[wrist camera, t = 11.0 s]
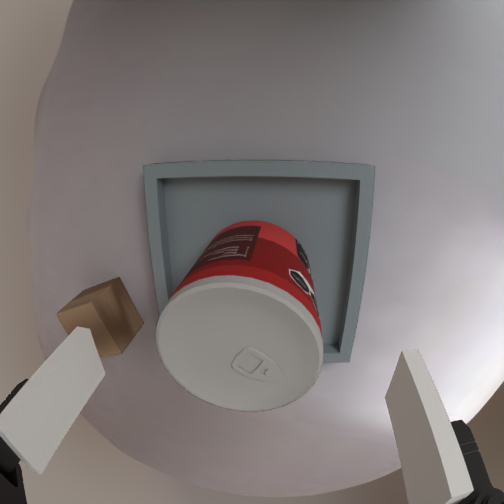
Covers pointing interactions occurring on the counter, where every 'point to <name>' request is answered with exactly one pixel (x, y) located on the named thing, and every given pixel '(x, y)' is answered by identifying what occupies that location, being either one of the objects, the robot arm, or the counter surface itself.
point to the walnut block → (104, 316)
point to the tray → (273, 211)
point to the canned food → (245, 321)
